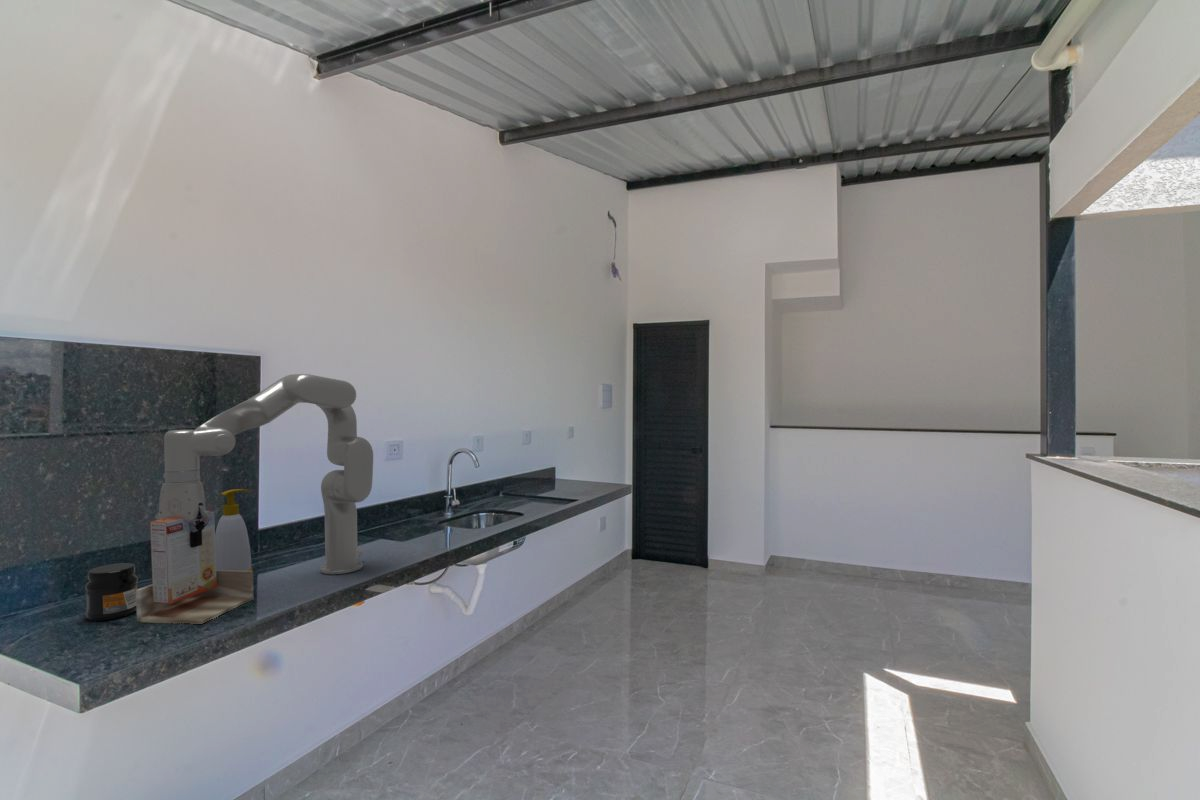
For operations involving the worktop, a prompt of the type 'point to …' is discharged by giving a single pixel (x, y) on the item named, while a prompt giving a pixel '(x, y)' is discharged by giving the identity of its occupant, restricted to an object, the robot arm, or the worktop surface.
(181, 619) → the beige tray
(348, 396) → the robot arm
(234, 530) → the soap bottle
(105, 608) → the supplement container
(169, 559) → the cracker box
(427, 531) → the worktop surface
